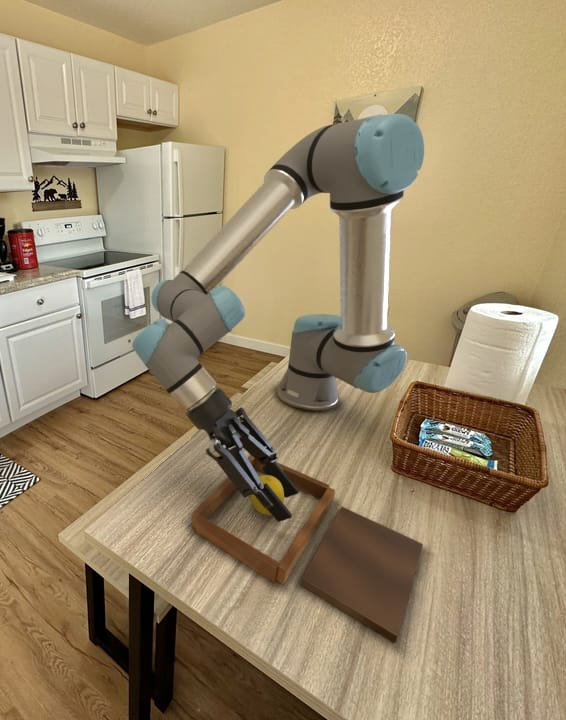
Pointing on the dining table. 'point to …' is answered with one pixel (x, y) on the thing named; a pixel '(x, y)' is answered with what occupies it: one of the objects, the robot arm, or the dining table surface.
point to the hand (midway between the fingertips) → (288, 505)
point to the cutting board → (365, 571)
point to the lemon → (276, 488)
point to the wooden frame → (249, 553)
